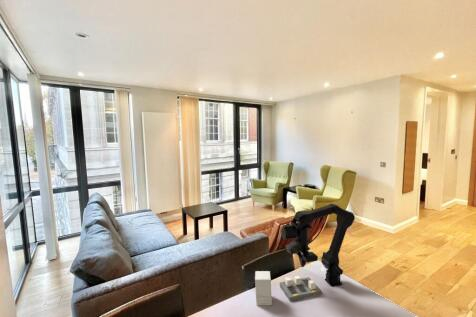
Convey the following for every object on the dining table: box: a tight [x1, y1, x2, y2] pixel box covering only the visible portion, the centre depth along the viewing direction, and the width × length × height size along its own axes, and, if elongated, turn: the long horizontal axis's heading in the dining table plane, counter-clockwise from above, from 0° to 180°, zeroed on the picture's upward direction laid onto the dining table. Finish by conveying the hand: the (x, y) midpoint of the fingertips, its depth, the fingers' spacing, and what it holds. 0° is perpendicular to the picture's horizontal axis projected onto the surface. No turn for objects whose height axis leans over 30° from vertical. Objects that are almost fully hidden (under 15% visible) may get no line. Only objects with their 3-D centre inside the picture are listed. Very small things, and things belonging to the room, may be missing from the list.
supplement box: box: [254, 270, 273, 306], centre depth 110 cm, size 7×7×13 cm
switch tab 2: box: [293, 275, 301, 285], centre depth 119 cm, size 2×2×3 cm
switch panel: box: [278, 276, 323, 302], centre depth 117 cm, size 17×12×2 cm
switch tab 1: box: [284, 276, 293, 287], centre depth 118 cm, size 2×2×3 cm
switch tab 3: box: [308, 279, 316, 290], centre depth 115 cm, size 2×2×3 cm
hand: (302, 266), depth 118 cm, fingers closed
